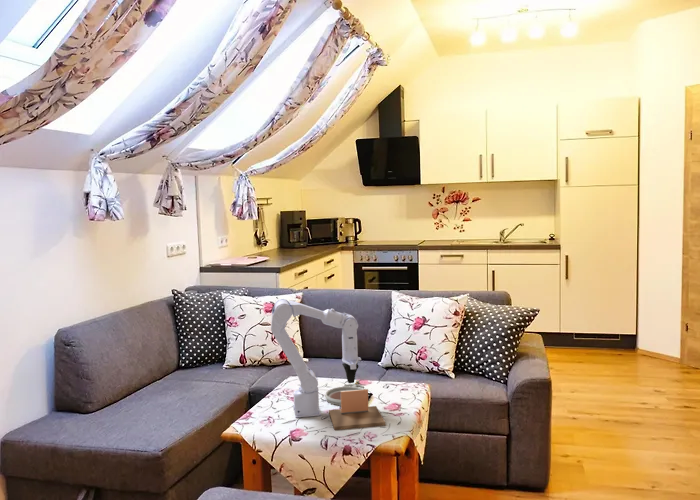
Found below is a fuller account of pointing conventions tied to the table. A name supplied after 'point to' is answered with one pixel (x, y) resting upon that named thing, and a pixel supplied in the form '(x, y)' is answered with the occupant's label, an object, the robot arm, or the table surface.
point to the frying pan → (335, 393)
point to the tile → (354, 401)
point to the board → (356, 419)
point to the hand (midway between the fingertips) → (350, 382)
